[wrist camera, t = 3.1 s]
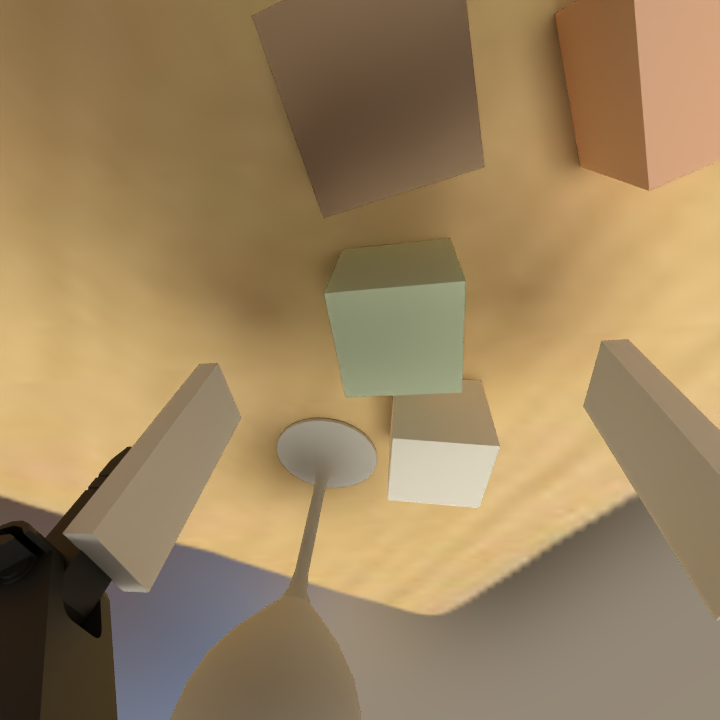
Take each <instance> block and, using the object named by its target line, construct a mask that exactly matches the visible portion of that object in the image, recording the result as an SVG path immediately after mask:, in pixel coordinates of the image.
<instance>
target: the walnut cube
mask: <svg viewBox="0 0 720 720" xmlns="http://www.w3.org/2000/svg"><path fill="white" fill-rule="evenodd" d="M252 18H253V21H254V24H255V27H256V29H257V32H258V35H259V38H260V41H261V44H262V46H263V49H264V52H265V55H266V58H267V60H268V63H269V66H270V69H271V72H272V74H273V77H274V80H275V83H276V86H277V89H278V91H279V94H280V97H281V100H282V103H283V105H284V108H285V111H286V114H287V117H288V119H289V122H290V125H291V128H292V131H293V134H294V136H295V139H296V142H297V145H298V148H299V150H300V153H301V156H302V159H303V162H304V165H305V167H306V170H307V173H308V176H309V179H310V181H311V184H312V187H313V190H314V193H315V195H316V198H317V201H318V204H319V207H320V210H321V212H322V215H323V218H326V217H329V216H332V215H335V214H338V213H341V212H344V211H348V210H351V209H354V208H357V207H360V206H363V205H366V204H370V203H373V202H376V201H379V200H382V199H385V198H388V197H392V196H395V195H398V194H401V193H404V192H407V191H410V190H414V189H417V188H420V187H423V186H426V185H429V184H432V183H436V182H439V181H442V180H445V179H448V178H451V177H455V176H458V175H461V174H464V173H467V172H470V171H473V170H477V169H480V168H483V167H484V159H483V150H482V140H481V131H480V122H479V113H478V104H477V95H476V86H475V77H474V68H473V58H472V49H471V40H470V31H469V22H468V13H467V4H466V0H283V1H281V2H279V3H277V4H275V5H273V6H271V7H269V8H267V9H265V10H263V11H261V12H259V13H257V14H255V15H253V16H252Z"/></svg>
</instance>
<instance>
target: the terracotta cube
mask: <svg viewBox="0 0 720 720" xmlns="http://www.w3.org/2000/svg"><path fill="white" fill-rule="evenodd" d="M555 20H556V25H557V31H558V37H559V43H560V49H561V55H562V61H563V67H564V73H565V79H566V85H567V91H568V97H569V103H570V109H571V115H572V120H573V126H574V132H575V138H576V144H577V150H578V156H579V162H580V167H583V168H586V169H589V170H592V171H594V172H597V173H600V174H603V175H606V176H609V177H612V178H614V179H617V180H620V181H623V182H626V183H629V184H631V185H634V186H637V187H640V188H643V189H646V190H649V191H650V190H652V189H655V188H657V187H659V186H662V185H664V184H666V183H669V182H671V181H673V180H676V179H678V178H681V177H683V176H685V175H688V174H690V173H692V172H695V171H697V170H700V169H702V168H704V167H707V166H709V165H711V164H714V163H716V162H718V161H720V0H577V1H575V2H574V3H572V4H570V5H569V6H567V7H566V8H564V9H562V10H561V11H559V12H557V13H556V14H555Z"/></svg>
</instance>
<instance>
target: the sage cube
mask: <svg viewBox="0 0 720 720" xmlns="http://www.w3.org/2000/svg"><path fill="white" fill-rule="evenodd" d="M465 282H466V281H465V278H464V275H463V273H462V270H461V267H460V264H459V261H458V259H457V256H456V253H455V250H454V247H453V245H452V242H451V239H450V238H446V239H436V240H427V241H418V242H408V243H399V244H389V245H380V246H371V247H361V248H352V249H342V252H341V254H340V256H339V259H338V261H337V263H336V266H335V268H334V271H333V273H332V275H331V278H330V280H329V283H328V285H327V287H326V290H325V292H324V296H325V301H326V306H327V310H328V315H329V320H330V325H331V330H332V334H333V339H334V344H335V349H336V354H337V359H338V363H339V368H340V373H341V378H342V383H343V387H344V392H345V397H366V396H391V395H416V394H441V393H462V376H463V344H464V313H465Z"/></svg>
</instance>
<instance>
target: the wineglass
mask: <svg viewBox="0 0 720 720" xmlns="http://www.w3.org/2000/svg"><path fill="white" fill-rule="evenodd" d="M277 454H278V457H279V460H280V462H281V463H282V464H283V466H284V467H285V468H286V469H287V470H288V471H289V472H290V473H291V474H292V475H294V476H296V477H297V478H299V479H301V480H302V481H305V482H307V483H310V484H313V485H315V486H314V491H313V495H312V500H311V504H310V508H309V513H308V517H307V521H306V526H305V530H304V534H303V539H302V543H301V547H300V552H299V556H298V560H297V565H296V569H295V572H294V575H293V577H292V580H291V583H290V585H289V588H288V589H287V590H286V592H285V593H284V594H283V596H282V597H281V598H280V599H279V600H277V601H275V602H273V603H272V604H270V605H268V606H266V607H265V608H263V609H262V610H261V611H259V612H257V613H256V614H254V615H253V616H251V617H250V618H248V619H247V620H245V621H244V622H243V623H241V624H239V625H238V626H236V627H235V628H233V629H232V630H231V631H230V632H229V633H228V634H227V635H226V636H225V637H224V638H222V640H220V641H219V642H218V643H217V644H216V645H215V646H214V647H212V648H211V649H210V650H209V651H208V653H207V654H206V655H205V657H204V658H203V660H202V661H201V663H200V664H199V665H198V667H197V668H196V669H195V671H194V673H193V674H192V675H191V677H190V678H189V679H188V681H187V683H186V686H185V688H184V690H183V692H182V694H181V696H180V698H179V701H178V703H177V705H176V707H175V709H174V711H173V713H172V716H171V718H170V720H361V711H360V706H359V701H358V696H357V691H356V686H355V681H354V678H353V675H352V673H351V671H350V669H349V666H348V664H347V662H346V660H345V658H344V655H343V653H342V651H341V649H340V647H339V644H338V643H337V641H336V640H335V638H334V637H333V635H332V634H331V632H330V631H329V629H328V628H327V626H326V625H325V623H324V622H323V620H322V619H321V617H320V616H319V615H318V613H317V612H316V611H315V609H314V608H313V607H312V605H311V604H310V600H309V596H308V592H307V588H308V572H309V567H310V562H311V557H312V552H313V547H314V542H315V537H316V532H317V527H318V522H319V517H320V512H321V507H322V502H323V497H324V492H325V488H326V487H329V488H341V487H348V486H353V485H356V484H358V483H360V482H362V481H364V480H366V479H367V478H368V477H369V476H370V475H371V474H372V473H373V471H374V470H375V467H376V463H377V453H376V449H375V447H374V445H373V443H372V441H371V440H370V439H369V438H368V437H367V436H366V435H365V434H364V433H363V432H361V431H360V430H358V429H357V428H356V427H354V426H351V425H349V424H347V423H345V422H341V421H337V420H333V419H326V418H313V419H305V420H302V421H299V422H296V423H294V424H292V425H291V426H289V427H287V428H286V429H285V430H284V432H283V433H282V434H281V435H280V438H279V441H278V443H277Z"/></svg>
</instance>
